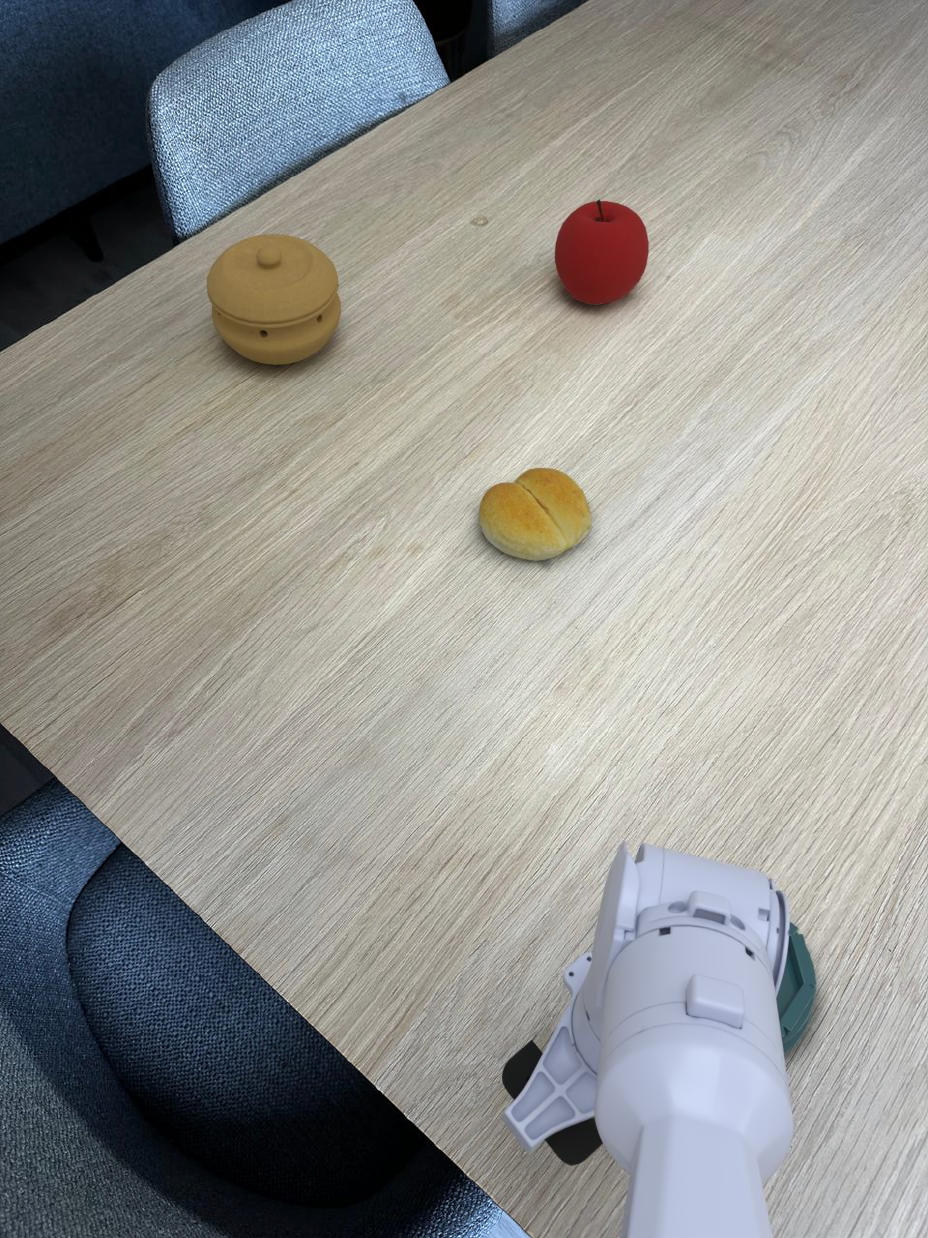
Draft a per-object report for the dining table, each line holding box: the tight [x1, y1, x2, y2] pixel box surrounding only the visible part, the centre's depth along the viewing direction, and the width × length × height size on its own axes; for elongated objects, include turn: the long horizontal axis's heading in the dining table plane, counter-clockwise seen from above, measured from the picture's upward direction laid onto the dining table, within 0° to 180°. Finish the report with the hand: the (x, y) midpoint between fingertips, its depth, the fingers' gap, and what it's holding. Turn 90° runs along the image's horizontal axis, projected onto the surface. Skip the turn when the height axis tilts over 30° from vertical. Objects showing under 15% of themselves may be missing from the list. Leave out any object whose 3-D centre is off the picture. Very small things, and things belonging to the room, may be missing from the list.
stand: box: [776, 921, 818, 1056], centre depth 62 cm, size 10×10×4 cm
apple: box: [554, 199, 650, 305], centre depth 99 cm, size 9×9×10 cm
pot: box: [206, 233, 342, 366], centre depth 94 cm, size 12×12×10 cm
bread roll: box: [478, 467, 593, 562], centre depth 84 cm, size 8×9×4 cm
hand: (605, 1068), depth 57 cm, fingers open, 7 cm apart
